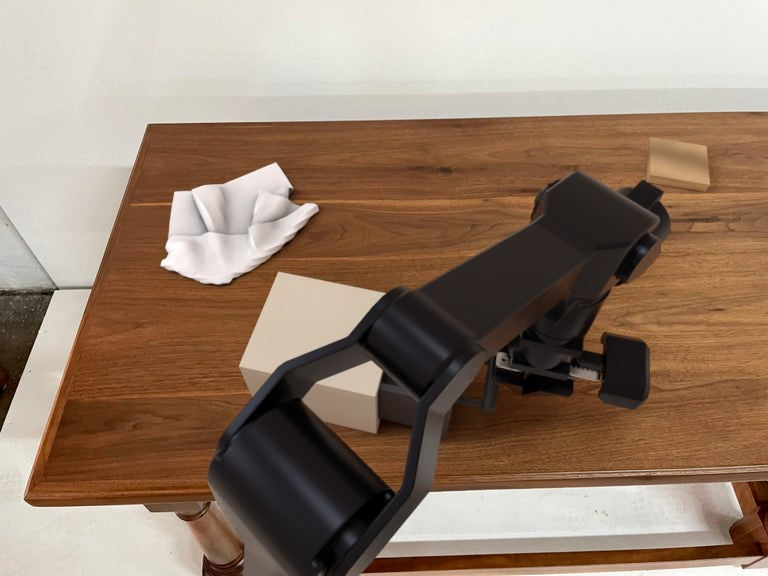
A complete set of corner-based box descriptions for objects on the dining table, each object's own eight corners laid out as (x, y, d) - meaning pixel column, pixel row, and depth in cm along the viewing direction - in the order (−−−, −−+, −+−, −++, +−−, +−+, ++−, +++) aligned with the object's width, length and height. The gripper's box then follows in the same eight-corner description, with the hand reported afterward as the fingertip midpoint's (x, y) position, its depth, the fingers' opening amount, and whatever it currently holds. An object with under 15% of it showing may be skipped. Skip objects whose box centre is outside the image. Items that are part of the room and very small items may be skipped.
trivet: (705, 192, 84) (710, 184, 83) (646, 182, 85) (650, 174, 84) (702, 153, 88) (706, 145, 87) (646, 144, 89) (649, 136, 88)
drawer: (497, 362, 68) (510, 327, 61) (484, 450, 62) (496, 421, 56) (355, 332, 70) (352, 295, 63) (329, 414, 64) (323, 383, 58)
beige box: (400, 341, 70) (402, 296, 62) (376, 434, 64) (375, 396, 56) (289, 318, 72) (278, 271, 64) (255, 406, 66) (238, 366, 58)
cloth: (145, 284, 75) (138, 273, 73) (185, 160, 87) (180, 147, 85) (308, 289, 74) (306, 278, 72) (325, 164, 87) (323, 151, 85)
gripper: (675, 253, 51) (616, 343, 64) (459, 213, 53) (443, 307, 66) (680, 367, 45) (613, 441, 58) (435, 316, 47) (423, 398, 60)
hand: (520, 391), depth 61 cm, fingers closed
